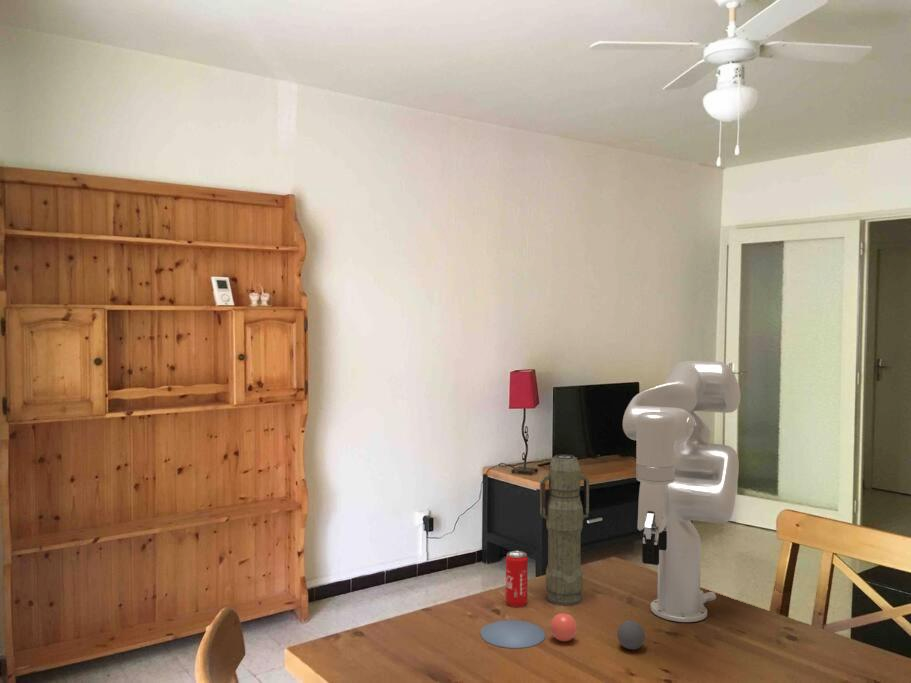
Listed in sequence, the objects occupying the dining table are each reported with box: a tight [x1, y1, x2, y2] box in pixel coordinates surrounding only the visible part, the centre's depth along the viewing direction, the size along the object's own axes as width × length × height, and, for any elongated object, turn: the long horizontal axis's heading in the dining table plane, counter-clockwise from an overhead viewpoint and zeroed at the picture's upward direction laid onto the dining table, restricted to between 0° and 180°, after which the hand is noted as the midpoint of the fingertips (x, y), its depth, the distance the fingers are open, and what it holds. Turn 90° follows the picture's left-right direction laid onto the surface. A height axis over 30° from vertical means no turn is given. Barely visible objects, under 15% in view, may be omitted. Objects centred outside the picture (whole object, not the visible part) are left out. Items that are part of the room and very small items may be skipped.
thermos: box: [539, 454, 590, 606], centre depth 179 cm, size 9×12×35 cm
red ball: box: [550, 612, 578, 642], centre depth 156 cm, size 6×6×6 cm
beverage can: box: [505, 550, 529, 608], centre depth 176 cm, size 5×5×12 cm
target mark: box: [480, 619, 546, 649], centre depth 159 cm, size 14×14×1 cm
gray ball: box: [616, 620, 646, 650], centre depth 152 cm, size 6×6×6 cm
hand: (654, 556), depth 150 cm, fingers open, 9 cm apart
